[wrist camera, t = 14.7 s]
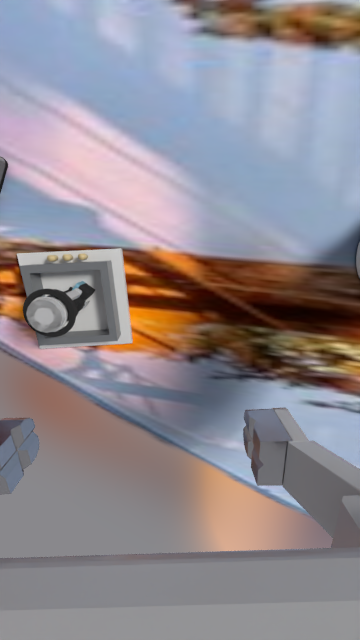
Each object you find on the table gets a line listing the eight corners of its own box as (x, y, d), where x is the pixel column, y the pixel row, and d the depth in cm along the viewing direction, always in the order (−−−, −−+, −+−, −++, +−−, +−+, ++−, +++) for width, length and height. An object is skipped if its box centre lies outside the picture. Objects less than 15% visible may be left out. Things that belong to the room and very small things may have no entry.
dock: (122, 248, 32) (116, 248, 29) (132, 341, 37) (129, 349, 33) (20, 253, 32) (4, 254, 29) (42, 346, 36) (30, 356, 33)
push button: (81, 328, 35) (48, 358, 25) (49, 307, 34) (2, 331, 24) (106, 293, 33) (80, 311, 24) (73, 270, 32) (32, 279, 23)
